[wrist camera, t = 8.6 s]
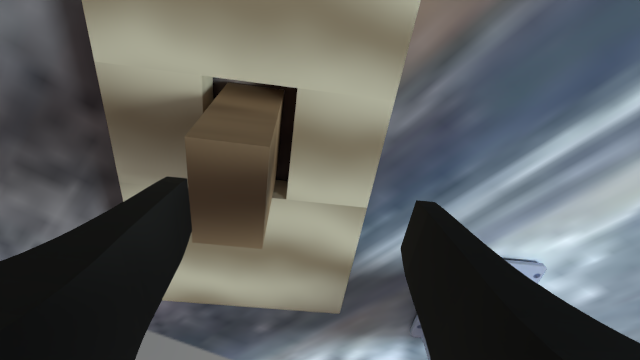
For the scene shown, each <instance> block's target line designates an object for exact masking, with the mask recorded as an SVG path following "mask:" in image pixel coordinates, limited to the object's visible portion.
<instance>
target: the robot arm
mask: <svg viewBox="0 0 640 360" xmlns="http://www.w3.org/2000/svg"><path fill="white" fill-rule="evenodd" d="M191 233H192V223H191V212H190V202H189V191H188V181H187V178H179V177H168V176H167V177H165V178H163V179H161V180H159V181H157V182H156V183H154V184H152V185H151V186H149V187H147V188H146V189H144V190H142V191H141V192H139V193H137V194H136V195H134V196H132V197H131V198H129V199H127V200H126V201H124V202H122V203H120V204H119V205H117V206H115V207H114V208H112V209H110V210H108V211H107V212H105V213H103V214H101V215H99V216H97V217H95V218H94V219H92V220H90V221H88V222H86V223H84V224H83V225H81V226H79V227H77V228H75V229H73V230H71V231H69V232H67V233H65V234H63V235H61V236H59V237H57V238H55V239H52V240H50V241H48V242H46V243H43V244H41V245H39V246H37V247H34V248H32V249H30V250H28V251H25V252H23V253H21V254H18V255H15V256H13V257H10V258H8V259H5V260H2V261H0V360H135V358H136V355H137V352H138V350H139V347H140V345H141V342H142V340H143V338H144V335H145V333H146V331H147V329H148V327H149V324H150V322H151V320H152V318H153V316H154V314H155V312H156V310H157V309H158V307H159V305H160V303H161V301H162V299H163V297H164V295H165V293H166V291H167V289H168V287H169V285H170V283H171V281H172V279H173V277H174V275H175V273H176V271H177V269H178V267H179V265H180V263H181V261H182V259H183V256H184V253H185V250H186V248H187V245H188V242H189V239H190V236H191ZM401 254H402V260H403V266H404V272H405V277H406V280H407V283H408V287H409V290H410V293H411V296H412V300H413V303H414V306H415V309H416V312H417V316H416V318H415V320H414V322H413V325H412V327H411V329H410V333H411V336H413V337H419V338H422V340H423V343H424V347H425V350H426V354H427V357H428V360H640V343H638V342H636V341H634V340H632V339H630V338H629V337H627V336H625V335H623V334H621V333H619V332H617V331H615V330H613V329H612V328H610V327H608V326H606V325H604V324H602V323H601V322H599V321H597V320H595V319H594V318H592V317H590V316H588V315H587V314H585V313H583V312H582V311H580V310H578V309H577V308H575V307H573V306H571V305H570V304H568V303H566V302H565V301H563V300H562V299H560V298H558V297H557V296H555V295H554V294H552V293H551V292H549V291H548V290H546V289H545V288H543V287H542V286H540V285H539V284H538V282H539V281H540V279H541V278H542V276H543V275H544V273H545V272H546V270H547V269H546V267H545V265H544V264H542V263H535V262H524V261H514V260H504V259H503V258H502V257H500V256H499V255H498V254H496V253H495V252H494V251H493V250H491V249H490V248H489V247H488V246H487V245H485V244H484V243H483V242H482V241H481V240H479V239H478V238H477V237H476V236H475V235H473V234H472V233H471V232H470V231H469V230H468V229H466V228H465V227H464V226H463V225H462V224H461V223H460V222H458V221H457V220H456V219H455V218H454V217H453V216H451V215H450V214H449V213H448V212H447V211H446V210H444V209H443V208H442V207H441V206H439V205H438V204H437V203H435V202H427V201H417V200H416V203H415V206H414V209H413V212H412V215H411V218H410V221H409V224H408V227H407V230H406V233H405V236H404V239H403V242H402V245H401Z"/></svg>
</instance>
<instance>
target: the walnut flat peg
mask: <svg viewBox="0 0 640 360" xmlns="http://www.w3.org/2000/svg"><path fill="white" fill-rule="evenodd" d="M283 101H284V90H281V89H274V88H267V87H259V86H252V85H245V84H238V83H230V82H228V83H227V84H226V85H225V87H224V88H223V89H222V90H221V92H220V93H219V94H218V95H217V97H216V98H215V99H214V100H213V102H212V103H211V104H210V105H209V107H208V108H207V109H206V110H205V112H204V113H203V114H202V115H201V117H200V118H199V119H198V120H197V122H196V123H195V124H194V126H193V127H192V128H191V129H190V131H189V132H188V133H187V134H186V136H185V149H186V163H187V177H188V191H189V202H190V212H191V223H192V243H202V244H212V245H223V246H233V247H244V248H254V249H262V248H263V243H264V238H265V232H266V227H267V222H268V216H269V211H270V206H271V201H272V195H273V190H274V185H275V179H276V174H277V168H278V156H279V145H280V134H281V123H282V112H283Z"/></svg>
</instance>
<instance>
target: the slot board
mask: <svg viewBox="0 0 640 360" xmlns="http://www.w3.org/2000/svg"><path fill="white" fill-rule="evenodd" d="M420 1H421V0H82V4H83V9H84V14H85V19H86V24H87V29H88V33H89V38H90V43H91V48H92V53H93V58H94V62H95V67H96V72H97V77H98V82H99V87H100V91H101V96H102V101H103V106H104V111H105V116H106V120H107V125H108V130H109V135H110V140H111V145H112V149H113V154H114V159H115V164H116V169H117V174H118V178H119V183H120V188H121V193H122V198H123V202H124V201H126V200H127V199H129V198H131V197H132V196H134V195H136V194H137V193H139V192H141V191H142V190H144V189H146V188H147V187H149V186H151V185H152V184H154V183H156V182H157V181H159V180H161V179H163V178H165V177H167V176H168V177H179V178H187V181H188V177H187V163H186V149H185V136H186V134H187V133H188V132H189V131H190V129H191V128H192V127H193V126H194V124H195V123H196V122H197V120H198V119H199V118H200V117H201V115H202V114H203V113H204V112H205V110H206V109H207V108H208V107H209V105H210V104H211V103H212V102H213V77H216V78H224V79H232V80H239V81H247V82H255V83H262V84H270V85H277V86H285V87H293V88H298V89H297V99H296V109H295V119H294V129H293V138H292V148H291V158H290V168H289V178H288V181H282V180H275V185H274V190H273V195H272V201H271V206H270V211H269V216H268V222H267V227H266V232H265V238H264V243H263V248H262V249H254V248H244V247H233V246H223V245H212V244H202V243H192V233H191V236H190V239H189V242H188V245H187V248H186V250H185V253H184V256H183V259H182V261H181V263H180V265H179V267H178V269H177V271H176V273H175V275H174V277H173V279H172V281H171V283H170V285H169V287H168V289H167V291H166V293H165V295H164V297H163V299H162V300H164V301H177V302H191V303H204V304H217V305H230V306H243V307H256V308H270V309H283V310H296V311H309V312H322V313H335V314H340V310H341V306H342V303H343V299H344V295H345V291H346V287H347V283H348V279H349V275H350V272H351V268H352V264H353V260H354V256H355V252H356V248H357V244H358V241H359V237H360V233H361V229H362V225H363V221H364V217H365V214H366V210H367V206H368V202H369V198H370V194H371V190H372V186H373V183H374V179H375V175H376V171H377V167H378V163H379V159H380V156H381V152H382V148H383V144H384V140H385V136H386V132H387V128H388V125H389V121H390V117H391V113H392V109H393V105H394V101H395V98H396V94H397V90H398V86H399V82H400V78H401V74H402V70H403V67H404V63H405V59H406V55H407V51H408V47H409V43H410V40H411V36H412V32H413V28H414V24H415V20H416V16H417V12H418V9H419V5H420Z"/></svg>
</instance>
